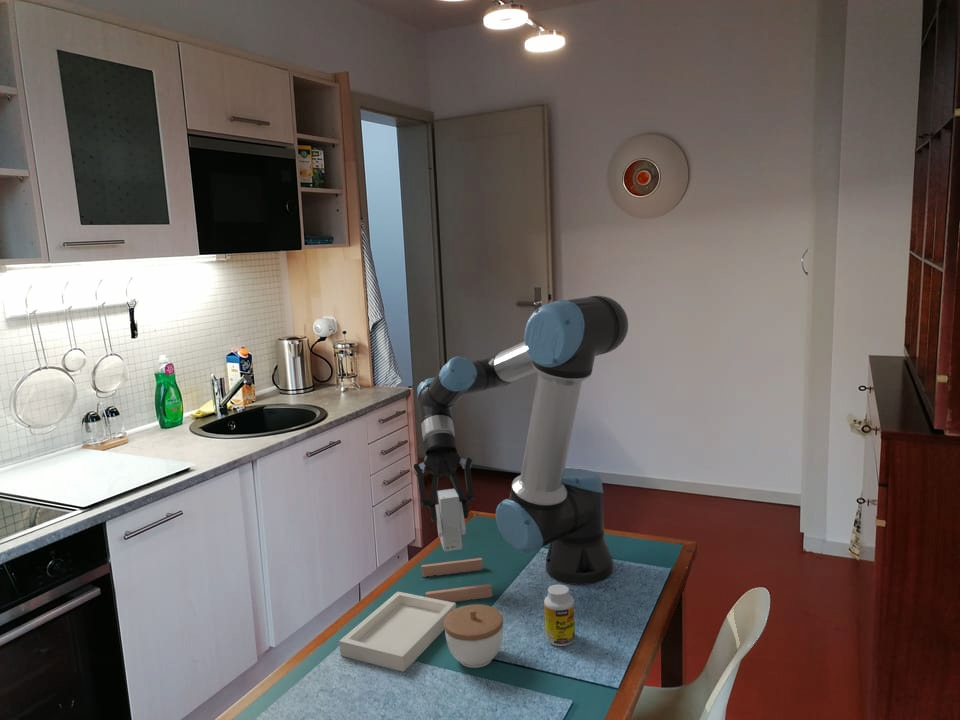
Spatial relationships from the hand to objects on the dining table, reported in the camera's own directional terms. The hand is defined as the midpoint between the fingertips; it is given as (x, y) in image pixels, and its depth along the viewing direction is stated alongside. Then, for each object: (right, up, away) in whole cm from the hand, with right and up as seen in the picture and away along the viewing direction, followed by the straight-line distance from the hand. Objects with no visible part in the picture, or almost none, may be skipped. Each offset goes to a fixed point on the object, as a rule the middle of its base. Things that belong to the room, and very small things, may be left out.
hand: (452, 533), depth 151 cm
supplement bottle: (+21, -16, -18) cm, 32 cm away
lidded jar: (+5, -18, -22) cm, 29 cm away
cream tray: (-10, -17, -13) cm, 23 cm away
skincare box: (0, -4, +4) cm, 6 cm away
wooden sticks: (+1, -13, +5) cm, 14 cm away
